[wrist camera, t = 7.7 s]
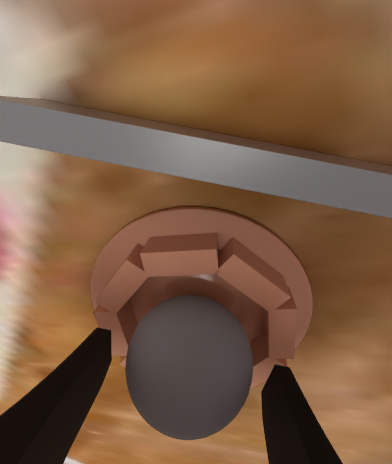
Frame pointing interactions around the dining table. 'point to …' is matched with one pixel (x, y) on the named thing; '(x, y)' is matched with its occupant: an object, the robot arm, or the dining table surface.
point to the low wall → (198, 154)
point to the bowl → (204, 278)
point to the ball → (189, 367)
